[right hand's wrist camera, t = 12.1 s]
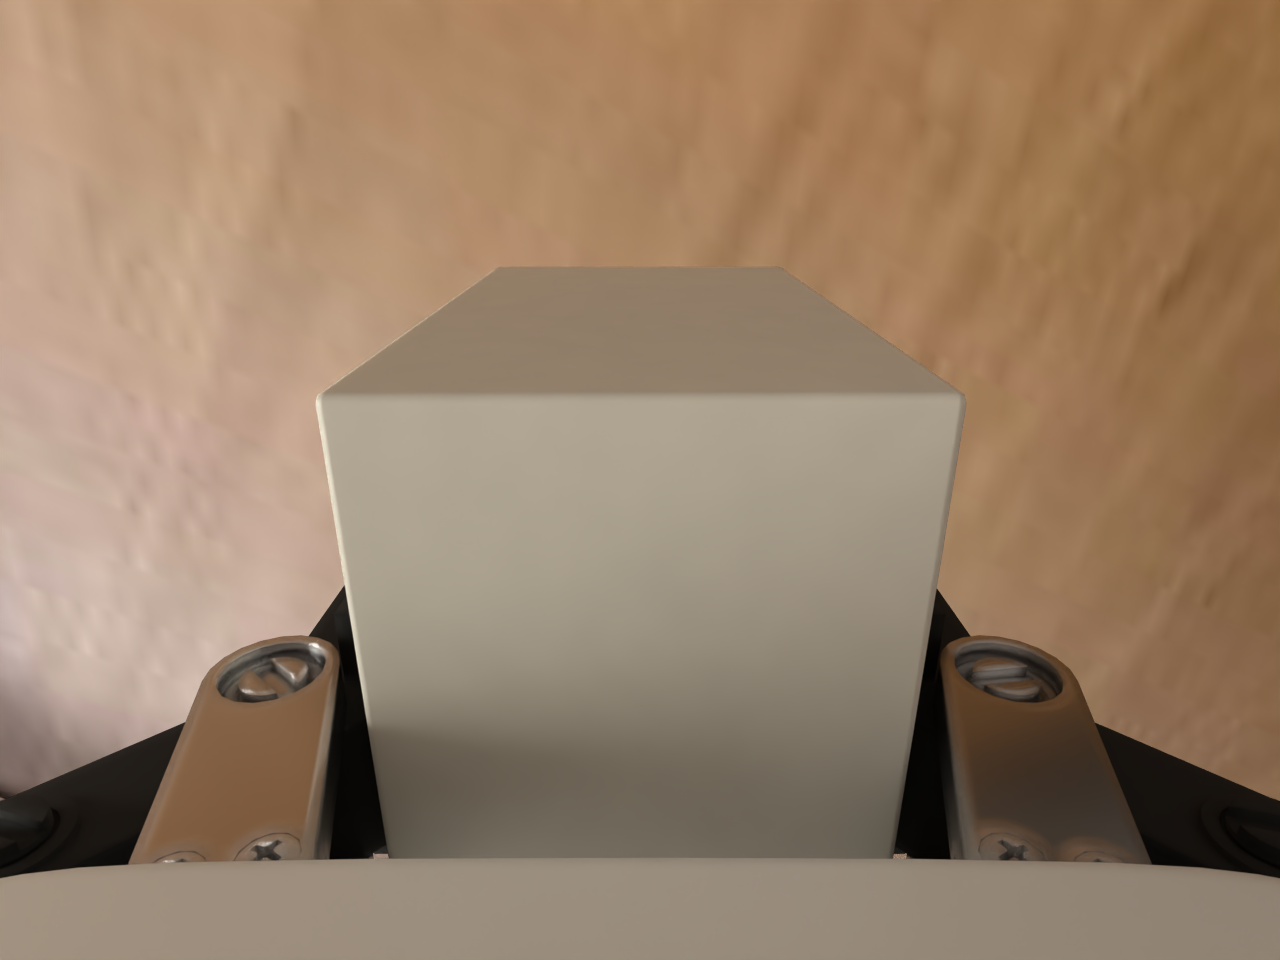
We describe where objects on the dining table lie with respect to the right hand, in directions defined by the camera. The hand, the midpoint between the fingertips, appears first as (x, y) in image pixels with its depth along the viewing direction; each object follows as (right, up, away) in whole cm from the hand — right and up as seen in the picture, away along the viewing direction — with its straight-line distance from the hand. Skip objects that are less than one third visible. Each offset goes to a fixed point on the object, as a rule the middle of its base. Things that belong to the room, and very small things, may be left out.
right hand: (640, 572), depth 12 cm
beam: (0, -20, +11) cm, 23 cm away
